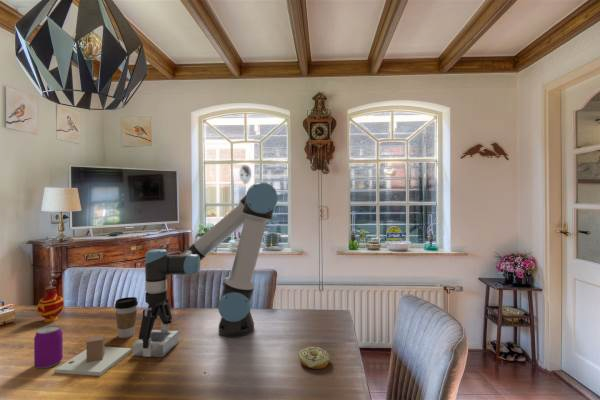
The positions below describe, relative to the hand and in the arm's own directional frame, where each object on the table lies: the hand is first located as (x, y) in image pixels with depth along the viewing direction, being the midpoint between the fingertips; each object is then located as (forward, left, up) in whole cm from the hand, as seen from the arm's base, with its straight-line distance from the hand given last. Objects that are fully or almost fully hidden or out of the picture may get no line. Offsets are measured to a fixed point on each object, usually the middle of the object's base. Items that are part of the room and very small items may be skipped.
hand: (156, 347), depth 120 cm
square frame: (0, 0, 0) cm, 0 cm away
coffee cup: (+19, -10, -1) cm, 21 cm away
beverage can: (+31, +14, -1) cm, 34 cm away
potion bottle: (+64, -21, -1) cm, 67 cm away
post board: (+16, +11, 0) cm, 19 cm away
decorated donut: (-60, +3, -1) cm, 60 cm away
